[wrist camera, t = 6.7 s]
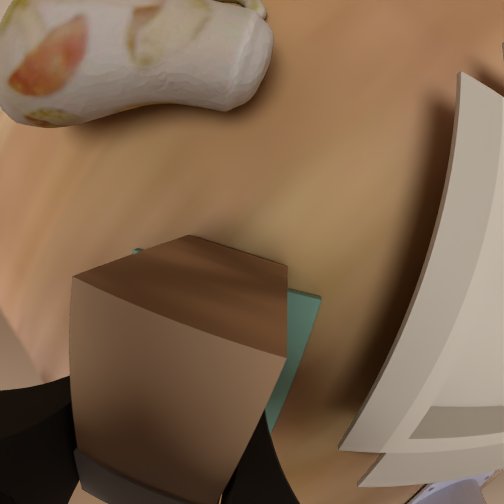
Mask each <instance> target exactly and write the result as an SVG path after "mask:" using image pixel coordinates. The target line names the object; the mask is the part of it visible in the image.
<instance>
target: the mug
mask: <svg viewBox="0 0 504 504" xmlns="http://www.w3.org/2000/svg"><path fill="white" fill-rule="evenodd" d="M217 1H220V2H217ZM222 2H233V3H239V4H241V5H243V6H244V7H245V8H244V7H240V6H235V5H230V4H226V3H222ZM266 14H267V11H266V9H265V7H264V5H263V3H262V2H261V0H13V1H12V3H11V5H10V6H9V7H8V9H7V11H6V13H5V14H4V16H3V18H2V21H1V23H0V107H1V108H2V110H3V111H4V112H5V113H6V114H7V115H8V116H9V117H10V118H11V119H12V120H14V121H16V122H17V123H21V124H25V125H30V126H36V127H43V128H58V127H66V126H72V125H77V124H82V123H85V122H88V121H91V120H95V119H98V118H102V117H105V116H108V115H111V114H115V113H118V112H122V111H125V110H129V109H133V108H137V107H141V106H145V105H150V104H161V103H172V104H183V105H190V106H197V107H202V108H207V109H212V110H218V111H223V112H224V111H229V110H231V109H233V108H235V107H237V106H240V105H242V104H244V103H246V102H247V101H248V100H250V99H251V98H252V97H253V95H254V94H255V93H256V91H257V89H258V87H259V85H260V83H261V81H262V80H263V78H264V76H265V74H266V71H267V69H268V67H269V64H270V61H271V55H272V50H273V45H274V38H273V33H272V31H271V28H270V27H269V25H268V24H267V23H266V22H265V21H264V19H265V18H266Z"/></svg>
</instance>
